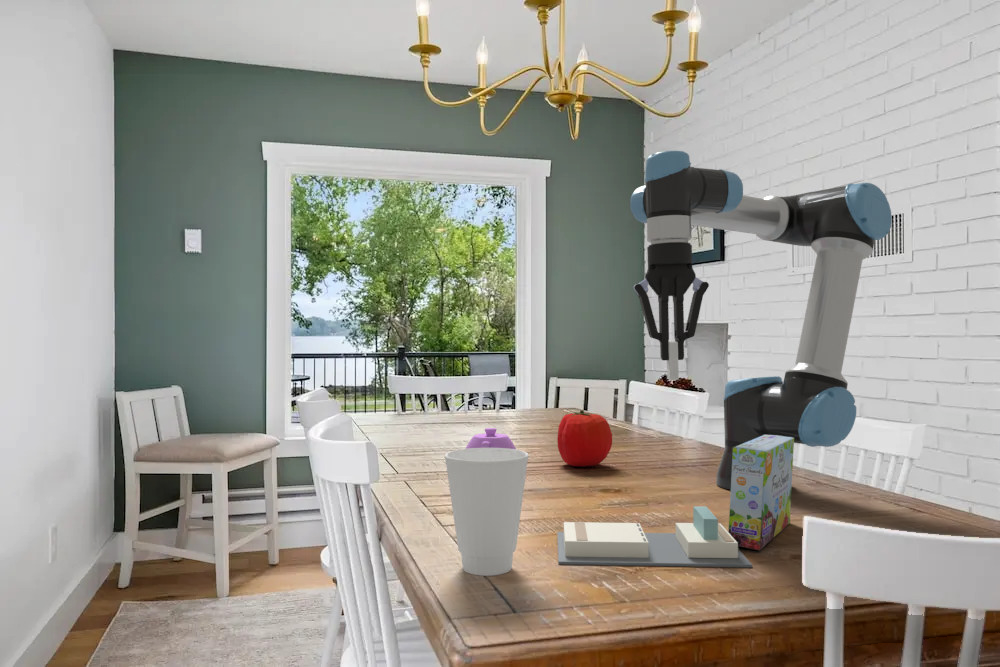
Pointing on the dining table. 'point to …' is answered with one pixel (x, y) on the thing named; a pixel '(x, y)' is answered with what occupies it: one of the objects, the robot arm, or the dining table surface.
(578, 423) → the tomato
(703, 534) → the stub
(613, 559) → the board
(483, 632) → the dining table surface
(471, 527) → the cup
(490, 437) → the teapot
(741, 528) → the snack box
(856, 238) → the robot arm
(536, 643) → the dining table surface
